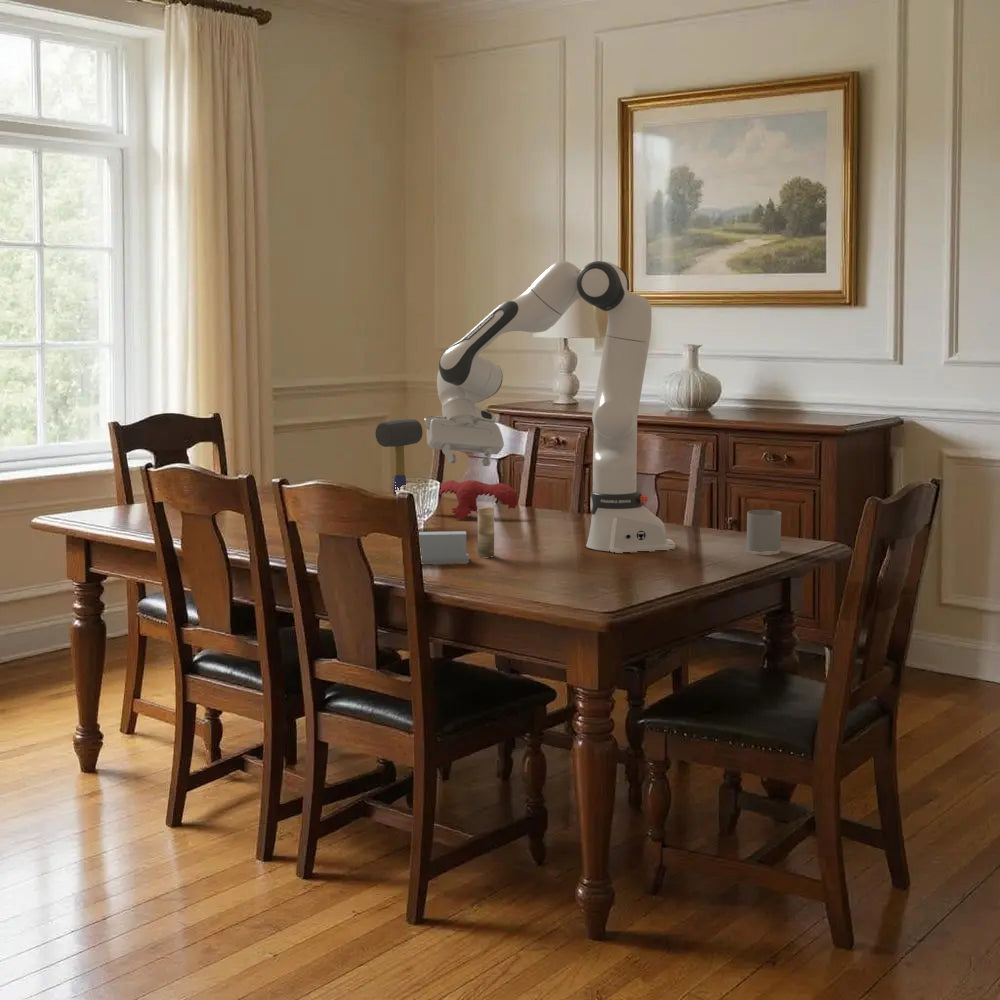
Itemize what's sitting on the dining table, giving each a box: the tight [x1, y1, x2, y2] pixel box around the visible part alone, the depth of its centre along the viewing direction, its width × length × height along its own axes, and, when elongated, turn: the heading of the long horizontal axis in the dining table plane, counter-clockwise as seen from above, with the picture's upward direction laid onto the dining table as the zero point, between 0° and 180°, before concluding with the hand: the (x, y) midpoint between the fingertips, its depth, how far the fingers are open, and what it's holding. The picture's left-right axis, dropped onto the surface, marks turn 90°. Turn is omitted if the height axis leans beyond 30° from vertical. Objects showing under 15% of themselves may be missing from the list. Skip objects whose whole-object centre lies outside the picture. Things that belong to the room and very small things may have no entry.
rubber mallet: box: [374, 418, 423, 495], centre depth 384 cm, size 12×8×30 cm, turn 136°
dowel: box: [477, 506, 495, 558], centre depth 342 cm, size 4×4×12 cm
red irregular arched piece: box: [439, 480, 519, 520], centre depth 402 cm, size 28×9×15 cm
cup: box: [746, 509, 782, 552], centre depth 345 cm, size 8×8×10 cm
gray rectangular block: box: [418, 530, 470, 566], centre depth 336 cm, size 15×7×7 cm, turn 93°
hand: (470, 463), depth 350 cm, fingers open, 8 cm apart
